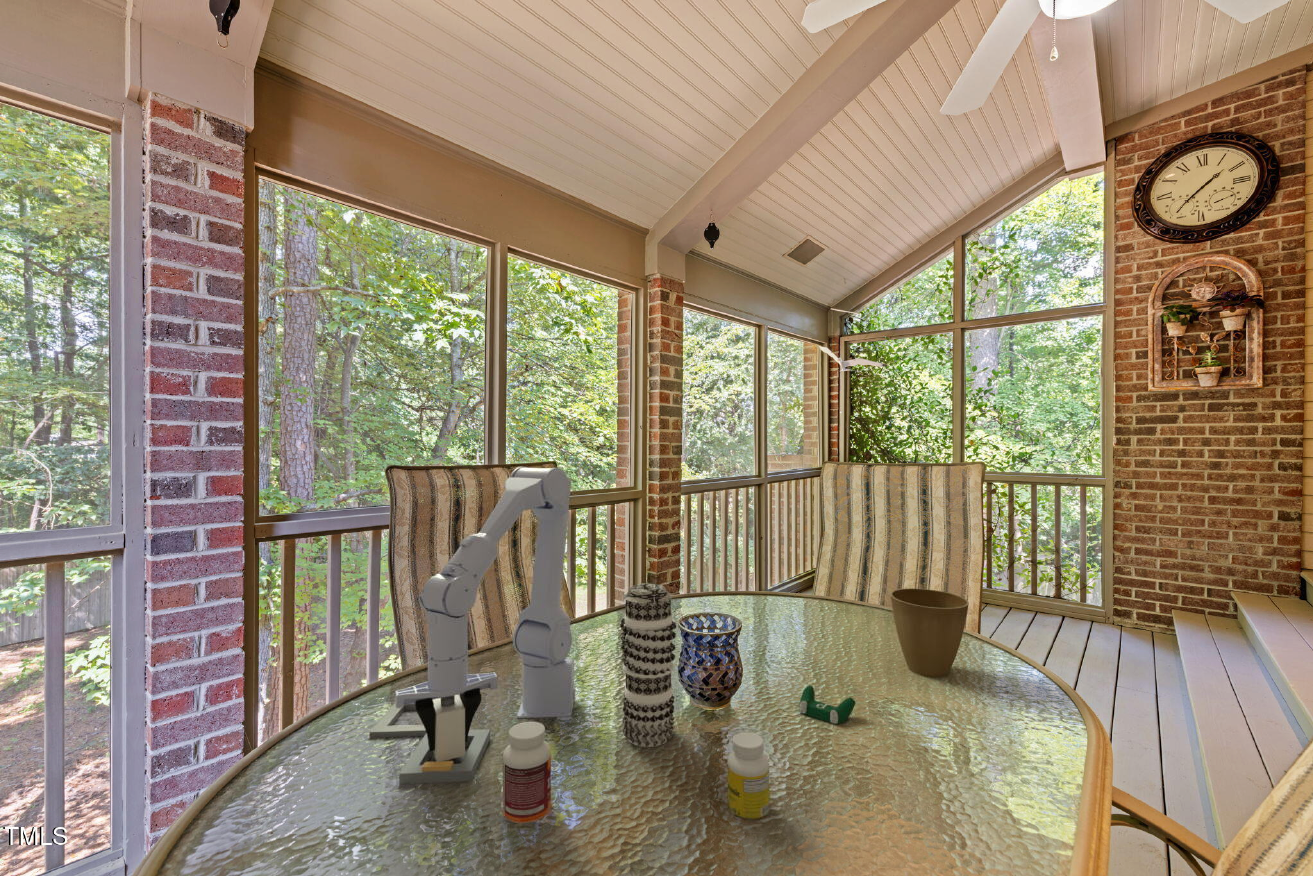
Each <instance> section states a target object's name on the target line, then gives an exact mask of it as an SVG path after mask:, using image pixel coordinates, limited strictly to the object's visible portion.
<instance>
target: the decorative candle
mask: <svg viewBox="0 0 1313 876" xmlns="http://www.w3.org/2000/svg"><path fill="white" fill-rule="evenodd" d="M622 597H623V598H622V599H624V600H625V613H624V618H622V619H621V620H620V624H619V627H620V628H621V631H622V632H621V634H620V635H621V636H620V639H621V645H620V649H621V650H622V655H621V657H622V658H621V662H622V663H623V664H622V671H623V672H624V673H625V684H624V694H623V696H622V702H623V707H622V712H623V717H622V719H621V720H622V724H623V727H622V730H621V731H622V733H623V735H624V737H625V739H627V741H628V742H629V743H630V744H631V745H632V744H633V745H635V746H637V747H643V748H651V747H657V746H662V745H663V744H666V743H667V742H668V741H669V740H670V739H671V738H672V736H673V735H674V734H675V731H674V730H675V726H674V725H675V721H674V720H675V717H674V712H675V706H674V703H675V696H674V694H673V683H672V673H673V671H674V670H675V667H674V662H673V661H674V660H675V658H676V654H674V653H673V652H674V651H675V650H676V645H675V644H674V643H673V642H672V641H673V640H674V639H675V638H676V637H677V633H676V632H675V631H673V630H675V629H677V622H675V621H673V613H672V598H673V594H672V593H670V592H669V591H668V590H667V588H666V587H665V586H664V585H662V584H658V583H651V582H648V583H647V582H646V583H645V582H644V583H638V584H635V585H633V586H631V587H630V588H629V589H628V592H626V593H625V594H623V596H622Z"/></svg>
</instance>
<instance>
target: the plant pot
mask: <svg viewBox="0 0 1313 876" xmlns="http://www.w3.org/2000/svg"><path fill="white" fill-rule="evenodd" d="M890 601H891V609H892V614H893V620H894V626H895V630H896V634H897V637H898V640H899V645H900V647H901V651H902V652H901V653H902V654H903V657H904V661H905V663H906V665H907V669H908V670H909V671H910V672H912V673H913V674H916V675H919V676H923V677H927V678H944V677H947V676H948V675H949V674H950V672H951V669H952V667H953V665H954V661H955V659H956V656H957V654H958V651H959V648H960V646H961V641H962V639H963V636H964V635H963V634H964V630H965V627H966V621H967V617H968V611H969V604H970V603H969V602H970V601H969V600H967V598H965V597H963V596H960V595H958V594H954V593H951V592H946V591H942V590H937V589H930V588H929V589H928V588H913V587H912V588H911V587H910V588H907V587H906V588H898V589H894V590H893V591H891V592H890Z"/></svg>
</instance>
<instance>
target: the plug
mask: <svg viewBox="0 0 1313 876" xmlns="http://www.w3.org/2000/svg"><path fill="white" fill-rule="evenodd" d="M433 702H434V709H435V721H434V734H435V750H433V755H434V758H435V762H437V761H450V760H452V759H458V758H462V757H464V756H465V754H466V746H465V708H464V705H463V703H462V701H461V699H460V694H458V695H453V696H448V697H443V698H438V699H433Z"/></svg>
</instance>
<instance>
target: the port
mask: <svg viewBox="0 0 1313 876" xmlns="http://www.w3.org/2000/svg"><path fill="white" fill-rule="evenodd" d="M490 741H491V729H490V728H489V729H487V728H486V729H469V733H468V739H467V743H465V747H468V748H467V750H466V751H465V756H463V759H462V761H461V763H454V760H445V761H437V762H436V761H429V760H430V758H431V757H432V755H433V754H434V752H433V751H430V749H429V746H428V737H427V733H426V734H425V736H422V739H421V740H420V742H419V744H418V745H417V747H416V748H415V750H414V751H413V752H412V754H411V755H410V757H409V759H408V760H407V762H406V763H405V765H404V766H403V767H402V769H401V770H400V772H399V775H398V776H399V777H398V778H399V781H398V782H399V785H404V784H405V785H407V784H425V783H426V784H427V783H428V784H429V783H430V784H431V783H432V784H433V783H449V782H450V783H453V782H455V783H456V782H472V780H473V778H474V776H475V775H476V771H477V769H478V767H479V765H480V763H481V760H482V758H483V756H484V753H486V750H487V747H488V745H489V743H490Z"/></svg>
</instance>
